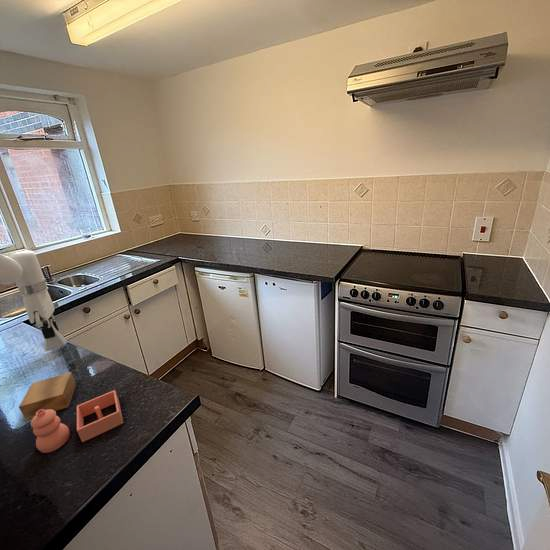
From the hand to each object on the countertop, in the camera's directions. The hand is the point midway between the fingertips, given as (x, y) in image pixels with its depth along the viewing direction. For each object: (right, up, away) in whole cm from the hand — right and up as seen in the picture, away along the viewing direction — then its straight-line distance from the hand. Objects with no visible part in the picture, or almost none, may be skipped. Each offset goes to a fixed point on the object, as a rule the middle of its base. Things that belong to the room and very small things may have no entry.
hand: (51, 334), depth 107 cm
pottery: (+32, -18, -32) cm, 48 cm away
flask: (0, -5, +2) cm, 5 cm away
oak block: (+16, -15, -21) cm, 31 cm away
